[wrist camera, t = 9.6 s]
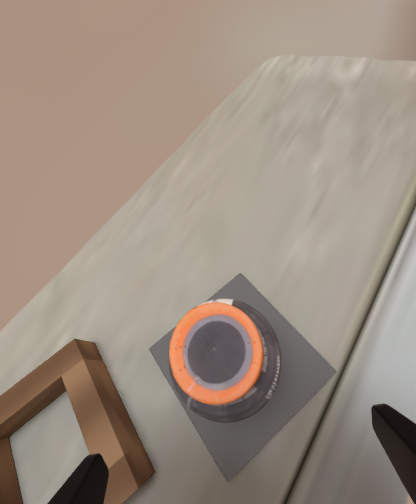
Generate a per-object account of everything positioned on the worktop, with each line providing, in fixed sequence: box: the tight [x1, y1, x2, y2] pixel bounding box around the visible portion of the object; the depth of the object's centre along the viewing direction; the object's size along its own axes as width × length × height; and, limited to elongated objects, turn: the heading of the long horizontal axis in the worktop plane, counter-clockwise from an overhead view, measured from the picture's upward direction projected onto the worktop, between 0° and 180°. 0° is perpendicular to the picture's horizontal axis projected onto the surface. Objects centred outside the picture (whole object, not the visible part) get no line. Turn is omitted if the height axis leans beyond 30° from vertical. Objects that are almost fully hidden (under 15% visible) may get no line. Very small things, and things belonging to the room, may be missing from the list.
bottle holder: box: [0, 339, 155, 504], centre depth 18 cm, size 12×12×3 cm
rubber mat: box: [149, 273, 337, 482], centre depth 20 cm, size 11×11×1 cm
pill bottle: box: [168, 299, 281, 423], centre depth 15 cm, size 6×6×11 cm
